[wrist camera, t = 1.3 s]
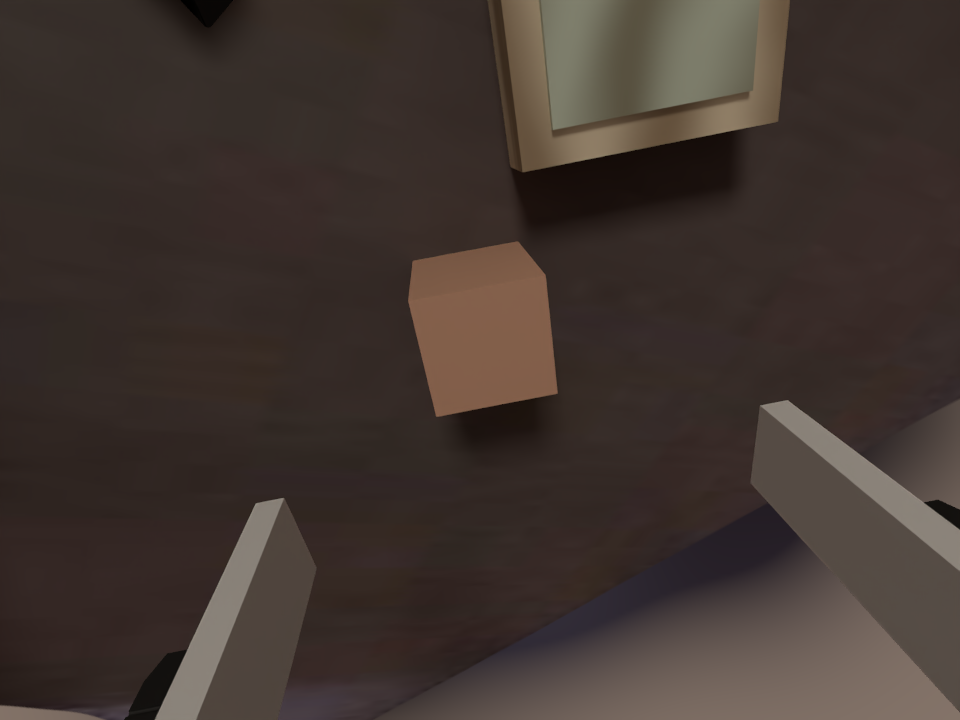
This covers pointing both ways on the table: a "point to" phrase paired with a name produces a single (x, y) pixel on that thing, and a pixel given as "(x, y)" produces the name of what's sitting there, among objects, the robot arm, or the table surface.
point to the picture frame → (632, 73)
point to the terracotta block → (483, 328)
